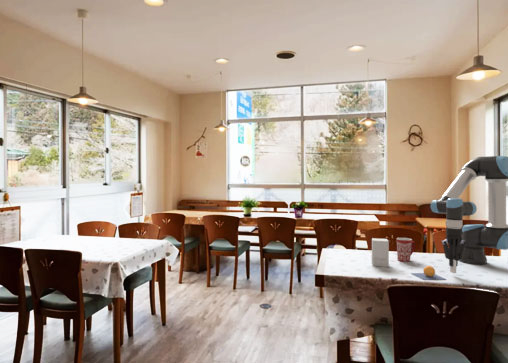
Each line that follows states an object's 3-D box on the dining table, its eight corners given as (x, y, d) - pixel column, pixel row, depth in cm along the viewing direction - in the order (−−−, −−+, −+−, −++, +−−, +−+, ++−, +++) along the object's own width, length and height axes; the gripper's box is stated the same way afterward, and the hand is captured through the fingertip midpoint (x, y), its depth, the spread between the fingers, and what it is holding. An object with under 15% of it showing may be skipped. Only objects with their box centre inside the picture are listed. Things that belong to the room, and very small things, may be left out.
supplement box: (387, 263, 216) (387, 238, 216) (388, 267, 207) (389, 241, 207) (371, 262, 218) (371, 237, 218) (372, 266, 210) (372, 240, 209)
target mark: (432, 273, 195) (432, 272, 195) (446, 279, 183) (446, 279, 183) (411, 273, 194) (411, 273, 194) (423, 280, 182) (423, 279, 182)
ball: (428, 276, 191) (432, 267, 192) (434, 279, 186) (439, 270, 186) (419, 272, 191) (424, 263, 191) (425, 275, 185) (430, 265, 185)
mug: (402, 262, 219) (402, 240, 219) (392, 259, 228) (393, 237, 228) (419, 261, 223) (420, 239, 222) (409, 258, 231) (410, 237, 231)
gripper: (460, 226, 194) (459, 270, 195) (438, 226, 193) (437, 270, 193) (470, 228, 187) (469, 274, 187) (447, 228, 185) (446, 274, 186)
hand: (453, 272), depth 190 cm, fingers closed
